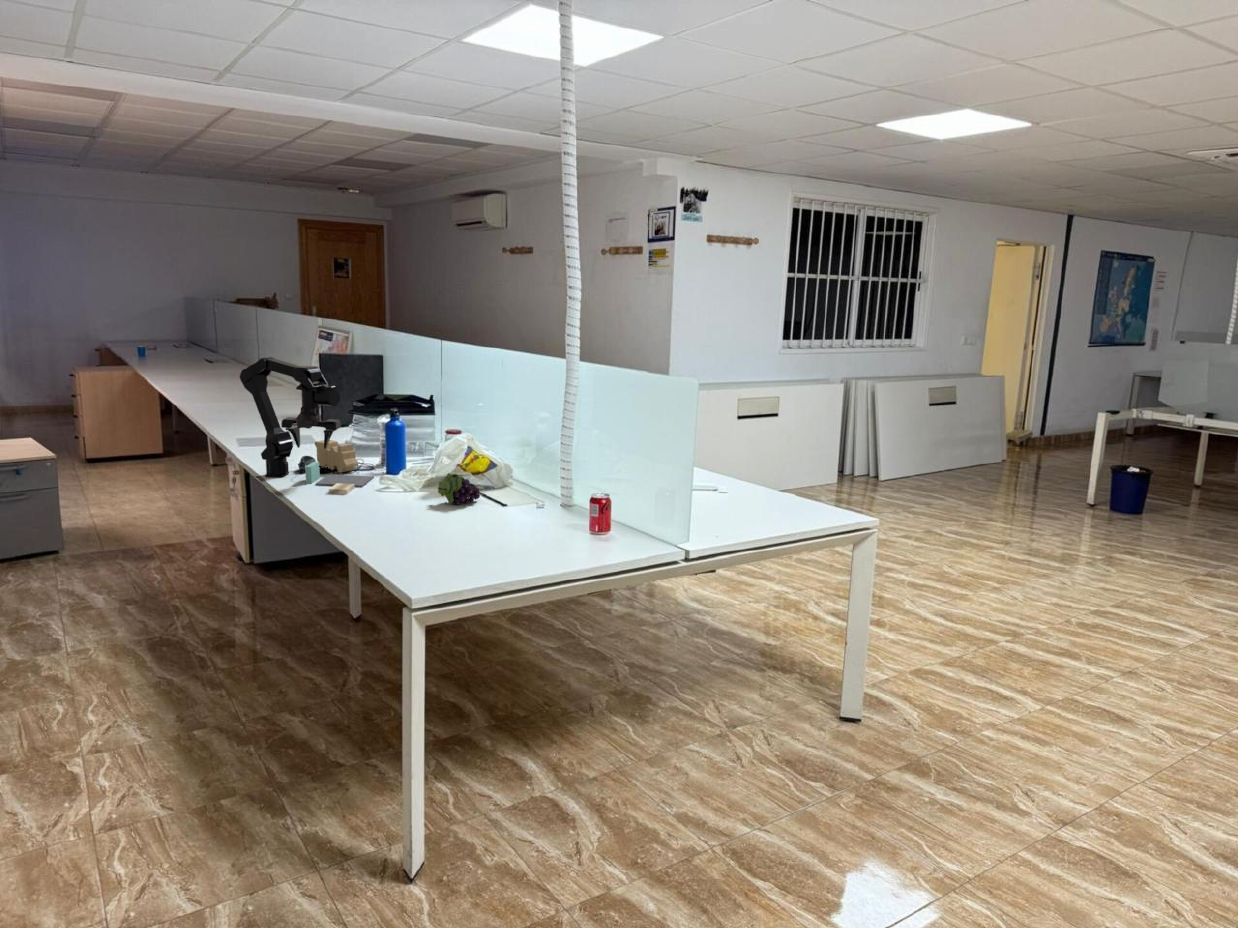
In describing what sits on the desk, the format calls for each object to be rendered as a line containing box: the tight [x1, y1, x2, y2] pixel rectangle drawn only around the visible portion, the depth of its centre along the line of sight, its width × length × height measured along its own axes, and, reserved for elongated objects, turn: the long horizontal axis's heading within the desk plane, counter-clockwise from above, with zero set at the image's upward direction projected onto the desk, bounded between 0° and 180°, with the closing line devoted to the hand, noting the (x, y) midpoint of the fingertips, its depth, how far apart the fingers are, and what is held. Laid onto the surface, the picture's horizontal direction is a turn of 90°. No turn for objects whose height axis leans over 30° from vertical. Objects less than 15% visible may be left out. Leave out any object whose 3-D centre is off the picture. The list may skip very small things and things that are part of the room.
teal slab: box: [304, 461, 321, 485], centre depth 303 cm, size 2×8×6 cm, turn 179°
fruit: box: [437, 472, 481, 506], centre depth 282 cm, size 10×11×15 cm
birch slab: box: [328, 483, 355, 495], centre depth 291 cm, size 6×8×2 cm
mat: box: [314, 473, 375, 488], centre depth 304 cm, size 16×14×1 cm
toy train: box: [314, 439, 359, 473], centre depth 321 cm, size 6×17×10 cm, turn 57°
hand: (312, 448), depth 301 cm, fingers open, 9 cm apart
